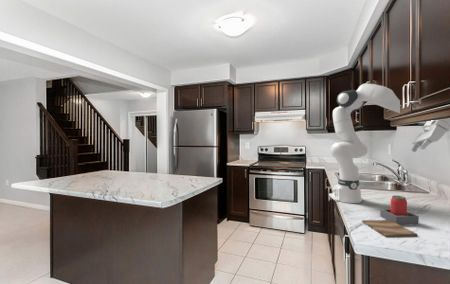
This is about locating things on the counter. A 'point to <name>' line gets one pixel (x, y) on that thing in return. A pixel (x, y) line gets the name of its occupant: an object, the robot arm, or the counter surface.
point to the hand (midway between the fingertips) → (417, 150)
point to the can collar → (399, 217)
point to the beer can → (399, 206)
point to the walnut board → (389, 228)
